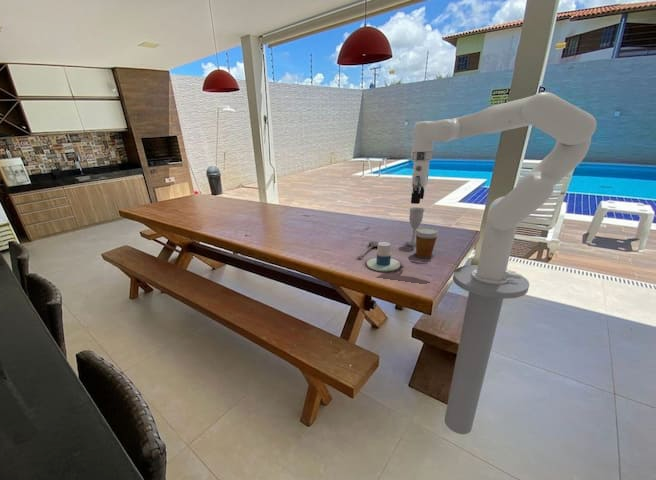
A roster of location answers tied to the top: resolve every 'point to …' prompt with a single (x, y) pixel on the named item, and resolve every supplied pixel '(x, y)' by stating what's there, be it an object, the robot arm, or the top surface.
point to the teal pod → (383, 260)
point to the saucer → (393, 266)
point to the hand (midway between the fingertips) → (417, 201)
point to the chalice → (415, 221)
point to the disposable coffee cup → (425, 241)
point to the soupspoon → (372, 244)
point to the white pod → (383, 248)
